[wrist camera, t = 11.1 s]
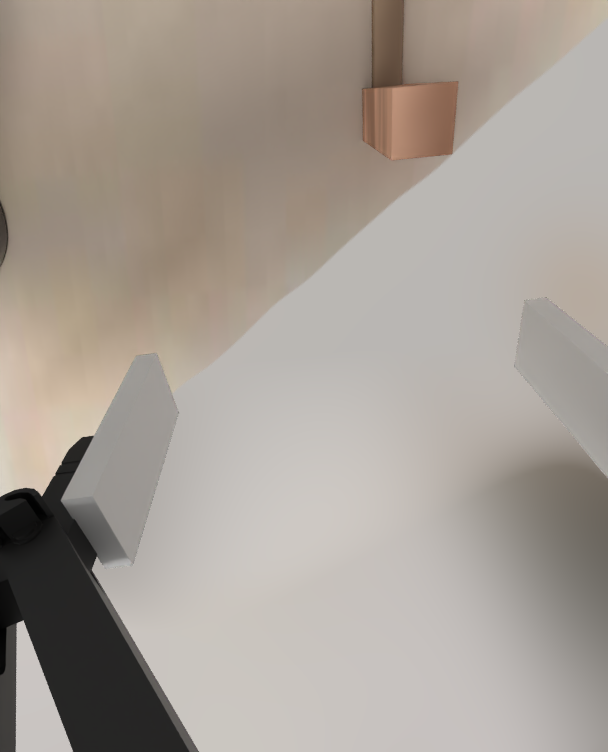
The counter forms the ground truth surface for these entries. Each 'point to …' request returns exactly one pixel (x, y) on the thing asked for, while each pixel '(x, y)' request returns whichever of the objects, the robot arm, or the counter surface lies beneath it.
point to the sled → (403, 97)
